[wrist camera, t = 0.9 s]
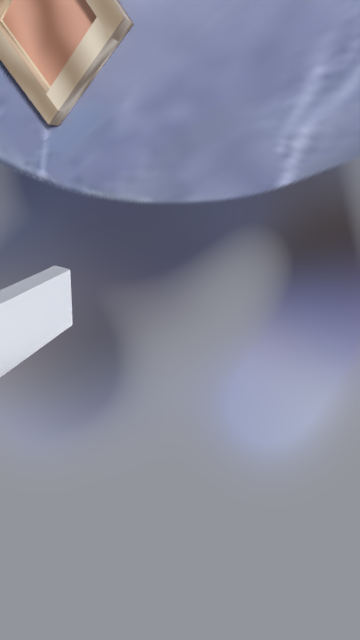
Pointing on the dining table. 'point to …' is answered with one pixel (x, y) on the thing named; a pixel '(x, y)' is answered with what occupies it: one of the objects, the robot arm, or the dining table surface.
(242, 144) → the dining table surface
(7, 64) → the divided wooden sorting tray
